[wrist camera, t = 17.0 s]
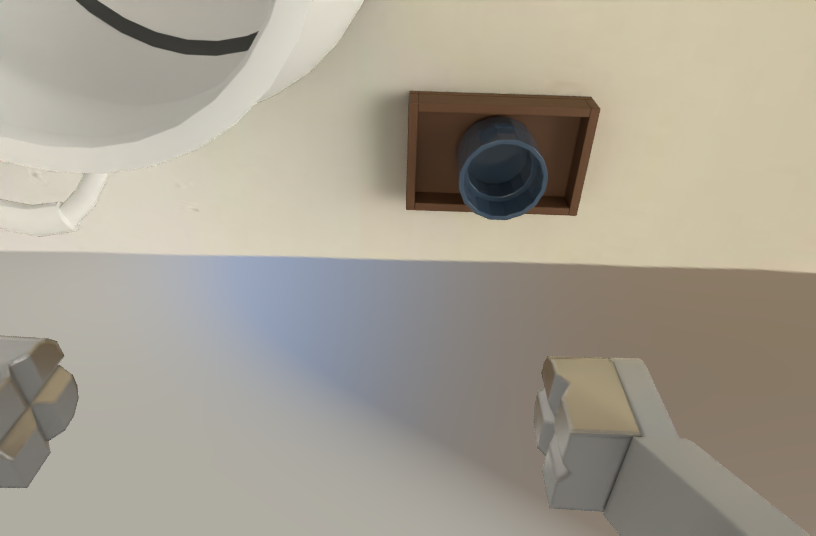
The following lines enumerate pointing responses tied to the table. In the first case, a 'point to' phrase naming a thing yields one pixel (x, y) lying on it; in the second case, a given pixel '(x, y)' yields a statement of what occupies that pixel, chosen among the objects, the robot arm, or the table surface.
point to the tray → (457, 112)
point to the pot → (140, 83)
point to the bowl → (500, 168)
